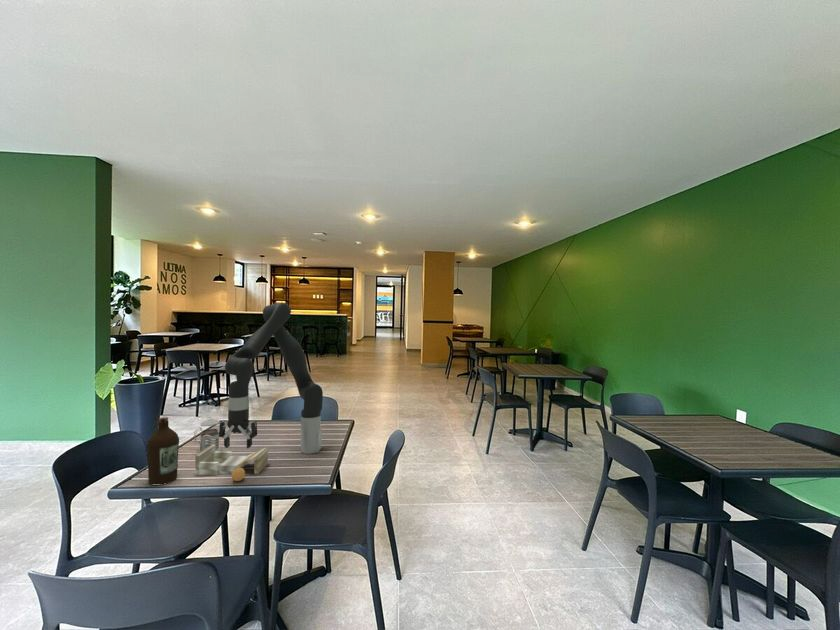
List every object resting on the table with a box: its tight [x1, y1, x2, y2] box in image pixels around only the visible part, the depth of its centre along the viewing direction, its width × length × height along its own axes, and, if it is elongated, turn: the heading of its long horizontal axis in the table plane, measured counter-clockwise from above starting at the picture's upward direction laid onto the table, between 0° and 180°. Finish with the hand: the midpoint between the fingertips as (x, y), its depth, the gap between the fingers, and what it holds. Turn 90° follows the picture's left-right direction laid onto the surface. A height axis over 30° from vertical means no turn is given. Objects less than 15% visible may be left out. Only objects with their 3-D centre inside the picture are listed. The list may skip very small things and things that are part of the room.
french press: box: [193, 399, 222, 455], centre depth 176 cm, size 10×12×25 cm
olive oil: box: [146, 416, 180, 485], centre depth 146 cm, size 11×11×25 cm
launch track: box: [194, 444, 269, 476], centre depth 158 cm, size 26×12×8 cm, turn 91°
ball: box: [230, 468, 246, 482], centre depth 147 cm, size 5×5×5 cm
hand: (238, 447), depth 147 cm, fingers open, 8 cm apart
